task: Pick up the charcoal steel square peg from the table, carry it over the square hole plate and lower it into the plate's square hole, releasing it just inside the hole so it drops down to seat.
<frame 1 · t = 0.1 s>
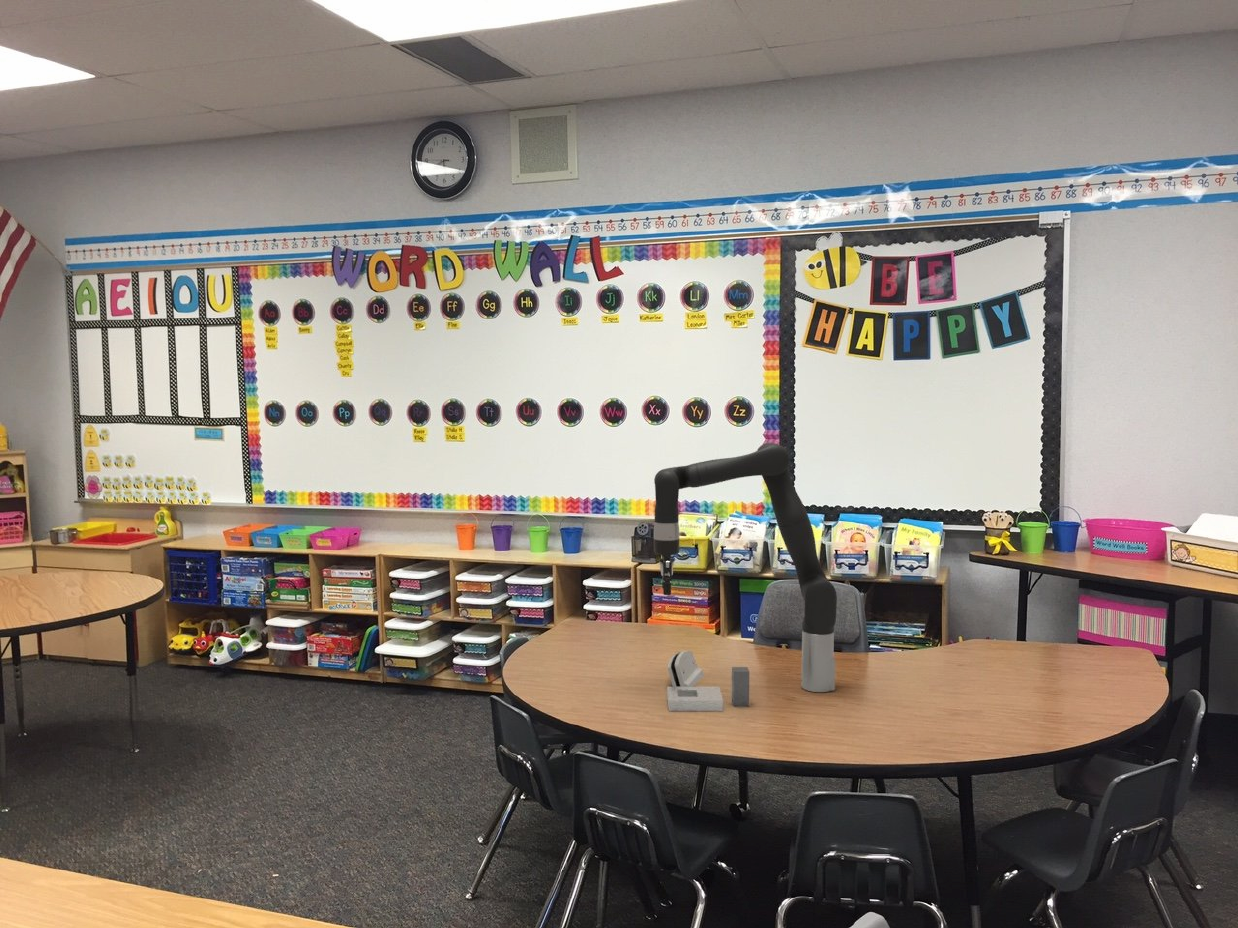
hand: (666, 591, 278), 29 cm above the table, tool pointing down, fingers open, 8 cm apart
square peg: (740, 703, 267), on the table
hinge: (684, 682, 287), on the table
square hole plate: (694, 703, 267), on the table
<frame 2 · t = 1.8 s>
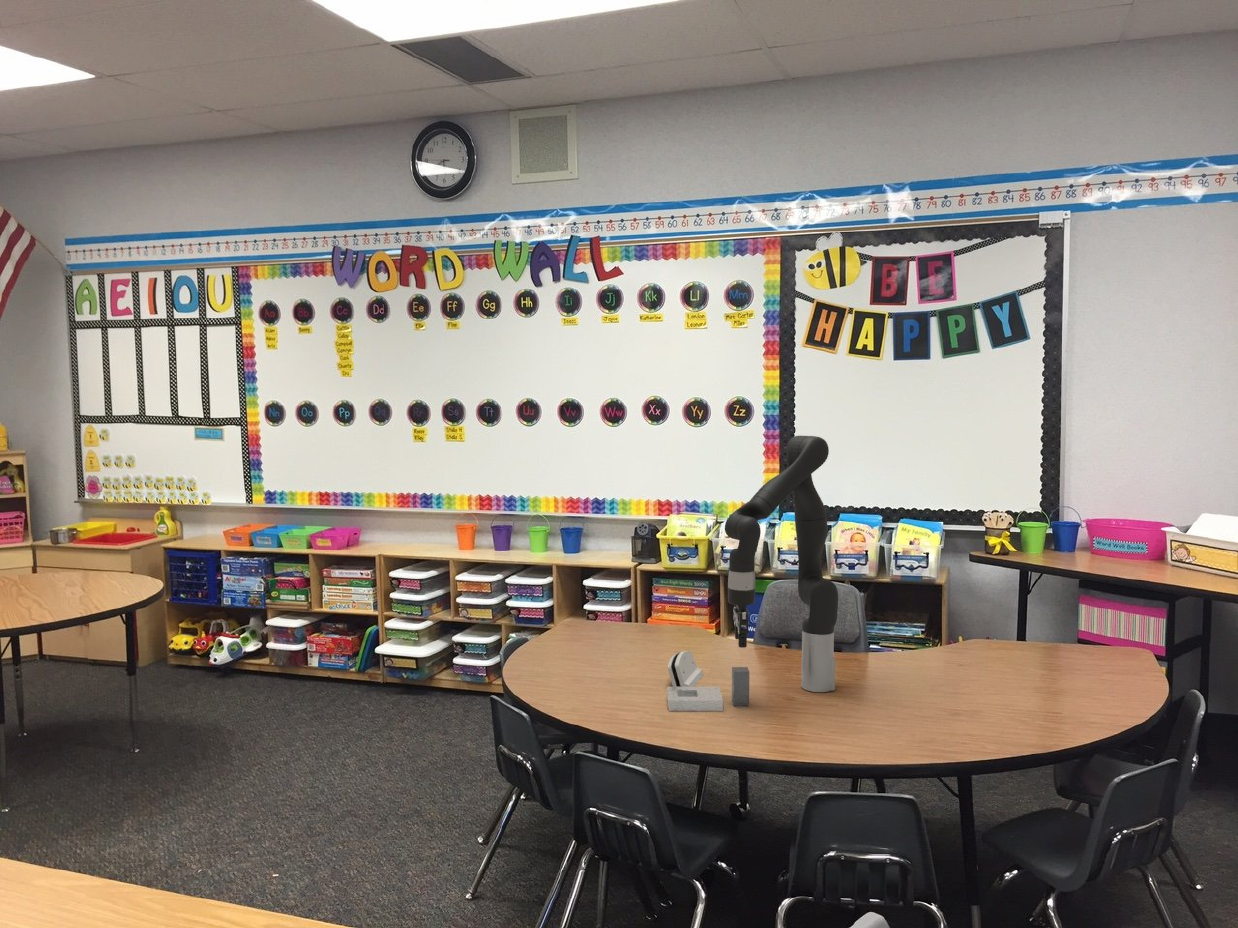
hand: (740, 642, 265), 18 cm above the table, tool pointing down, fingers open, 8 cm apart
nothing on the table moved.
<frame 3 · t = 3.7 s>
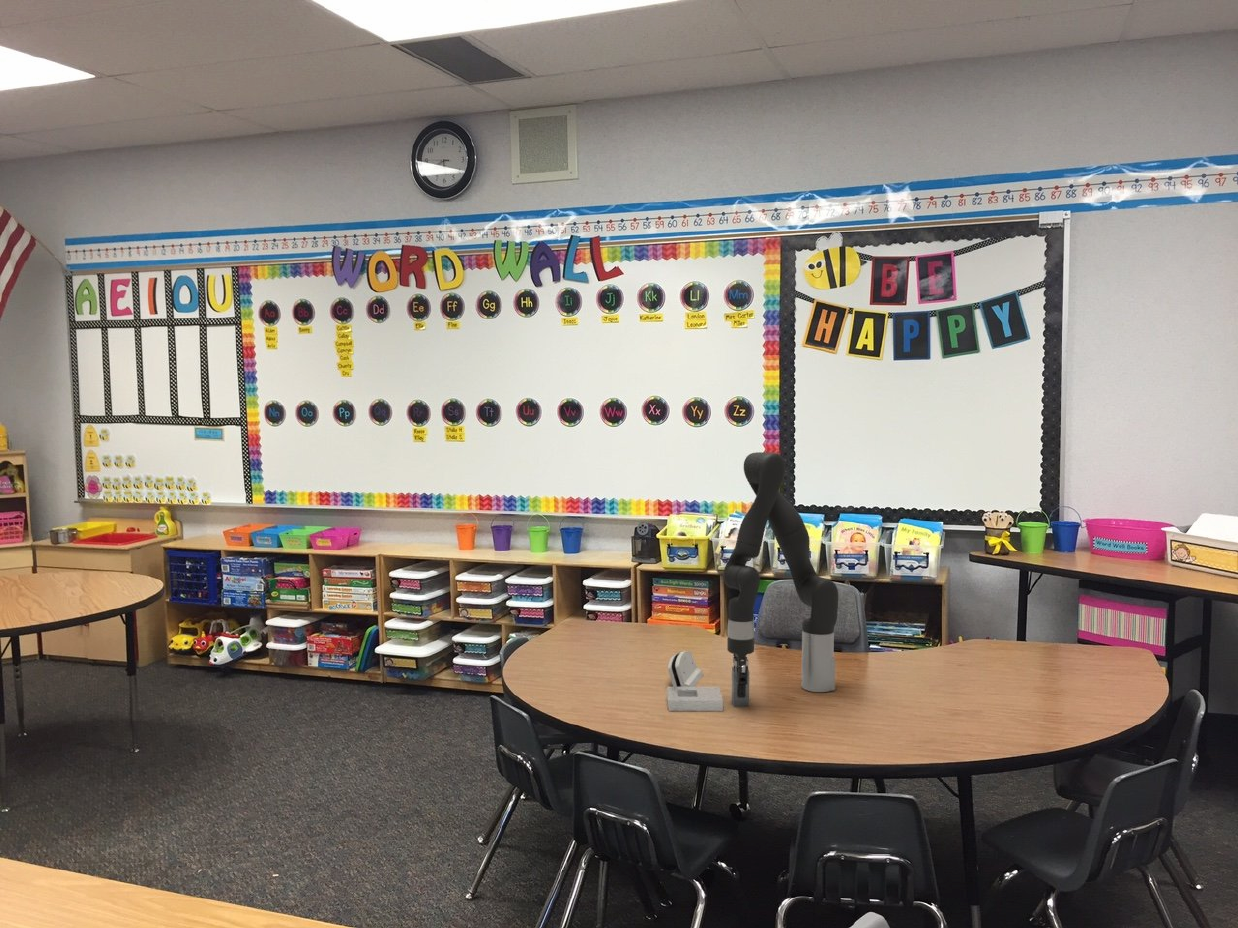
hand: (740, 693, 267), 3 cm above the table, tool pointing down, fingers closed on square peg, 4 cm apart
square peg: (740, 703, 267), on the table, touching gripper
everything else where it was.
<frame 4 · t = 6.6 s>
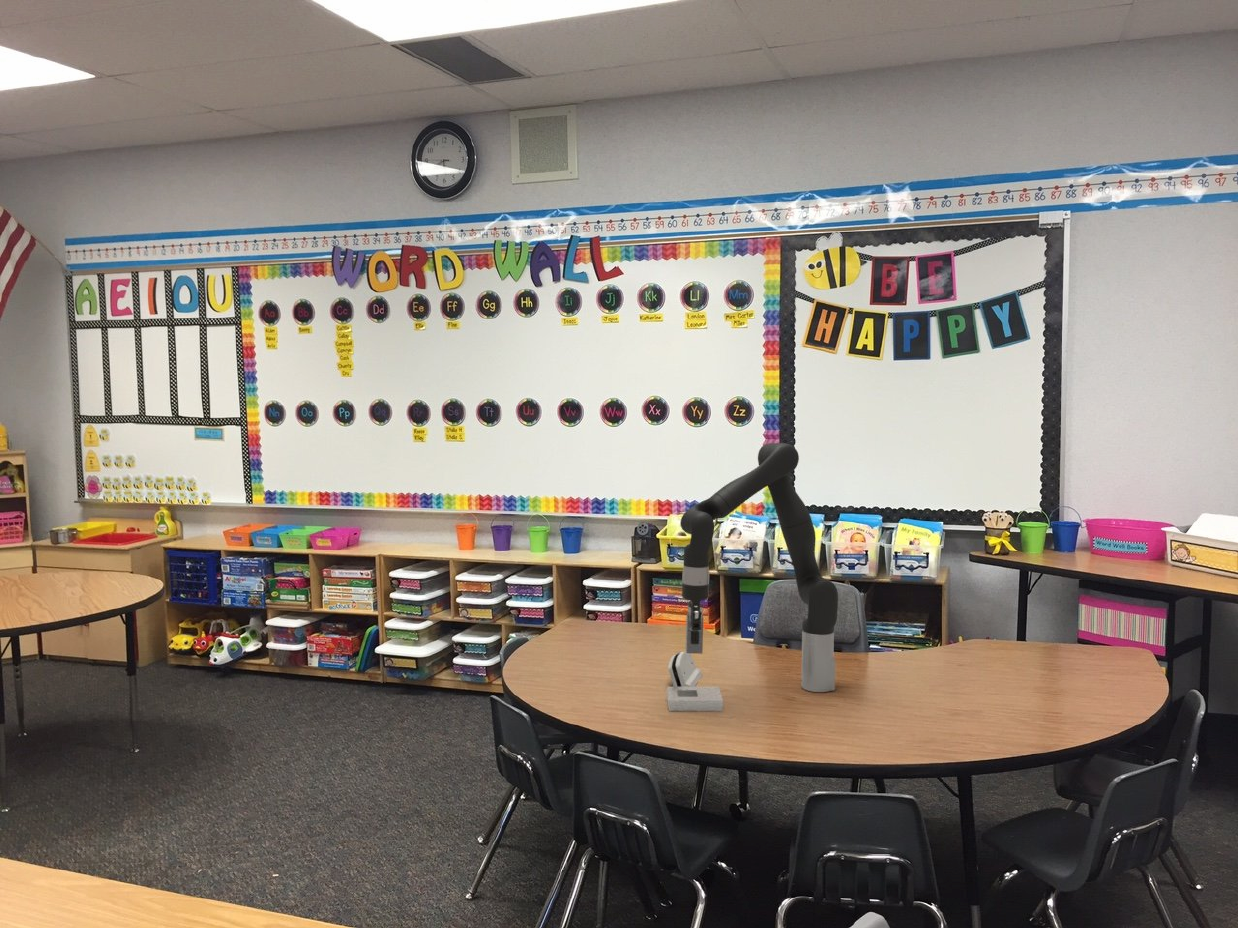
hand: (694, 641, 265), 18 cm above the table, tool pointing down, fingers closed on square peg, 4 cm apart
square peg: (693, 651, 265), point 15 cm above the table, touching gripper
everything else where it was.
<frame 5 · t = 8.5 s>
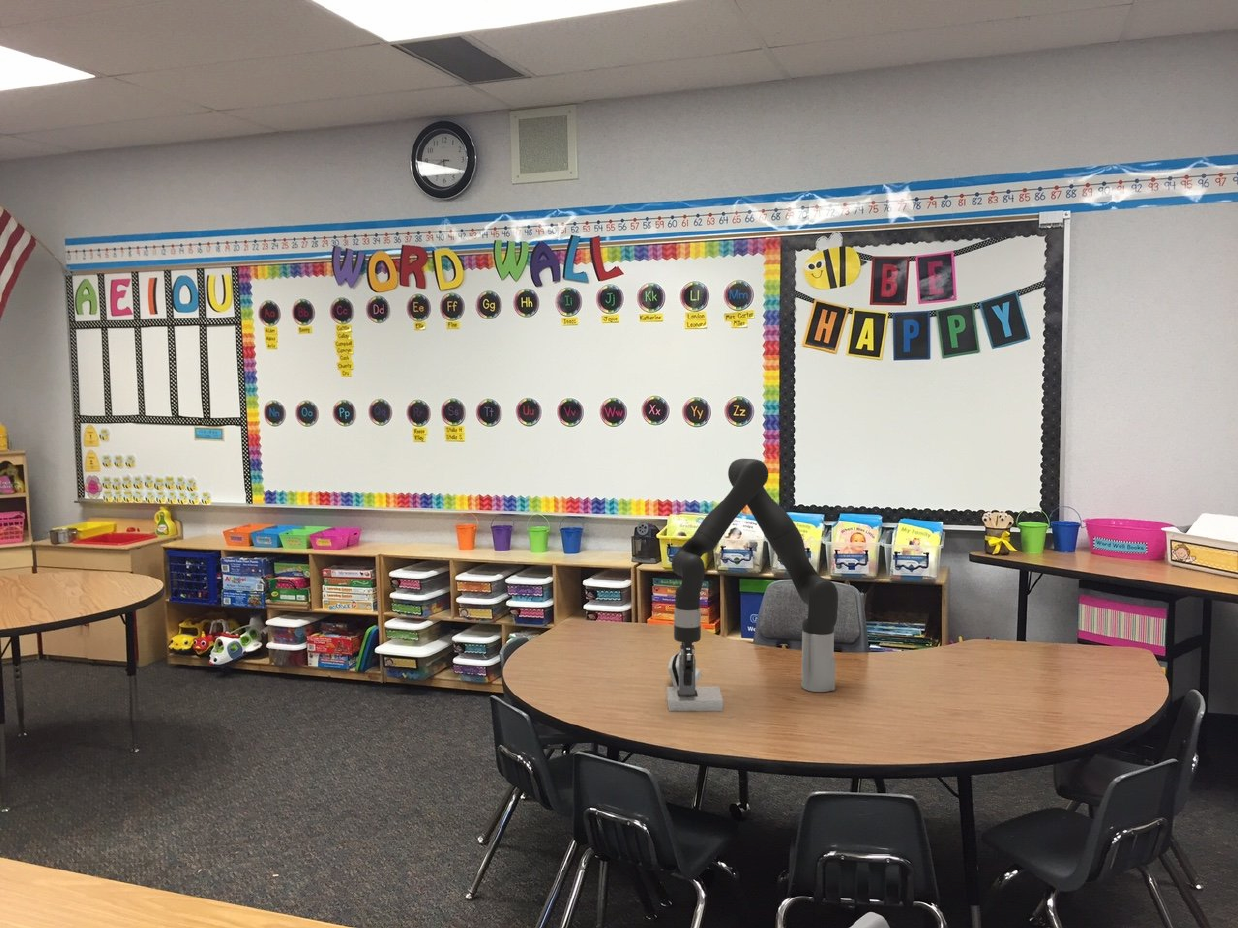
hand: (687, 682, 266), 6 cm above the table, tool pointing down, fingers closed on square peg, 4 cm apart
square peg: (686, 691, 267), point 3 cm above the table, touching gripper
everything else where it was.
when the fingers open (4 cm above the table, at t = 9.9 s): square peg drops 1 cm, resting in square hole plate.
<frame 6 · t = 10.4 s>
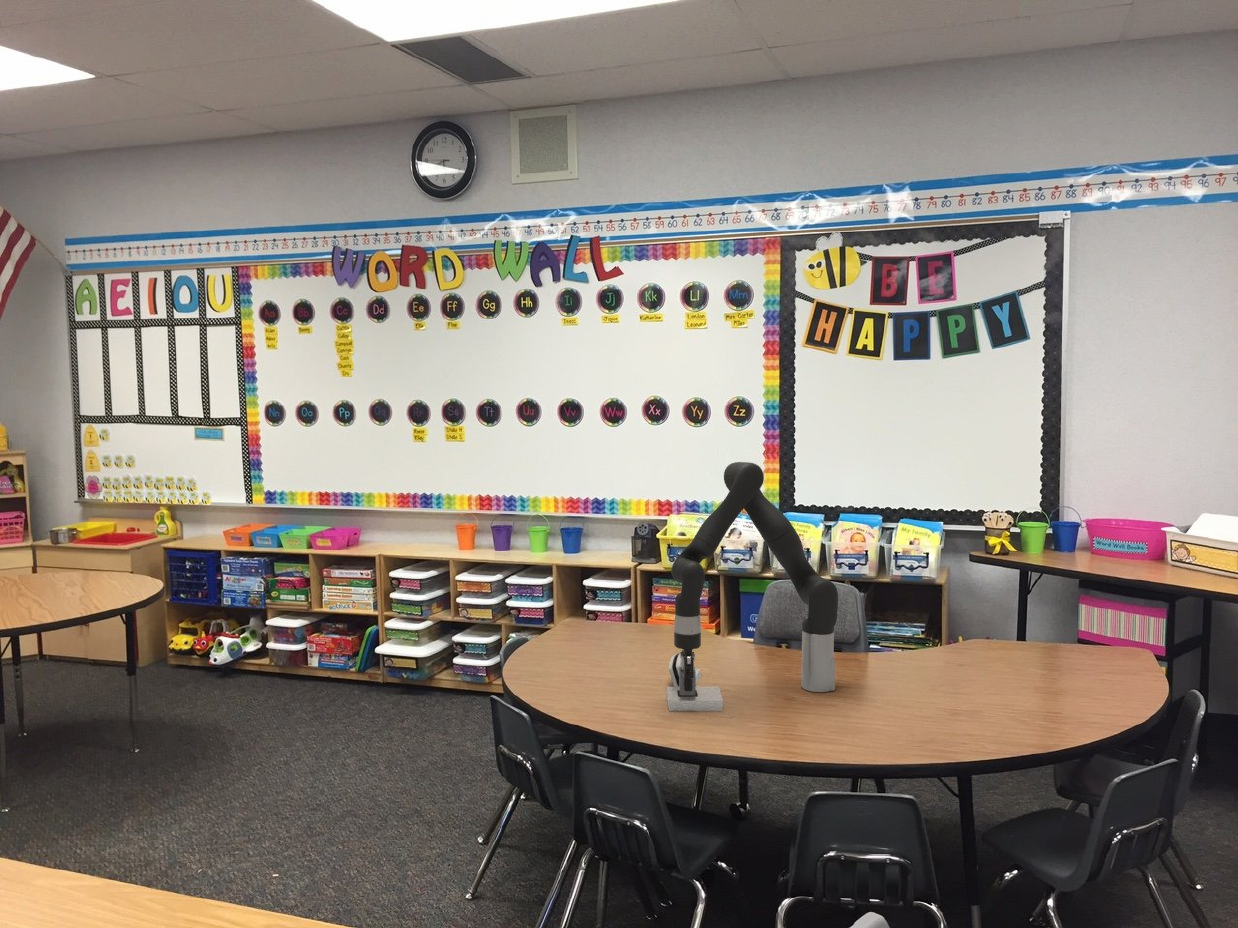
hand: (687, 686, 266), 5 cm above the table, tool pointing down, fingers open, 8 cm apart
square peg: (687, 703, 267), resting in square hole plate
everything else where it was.
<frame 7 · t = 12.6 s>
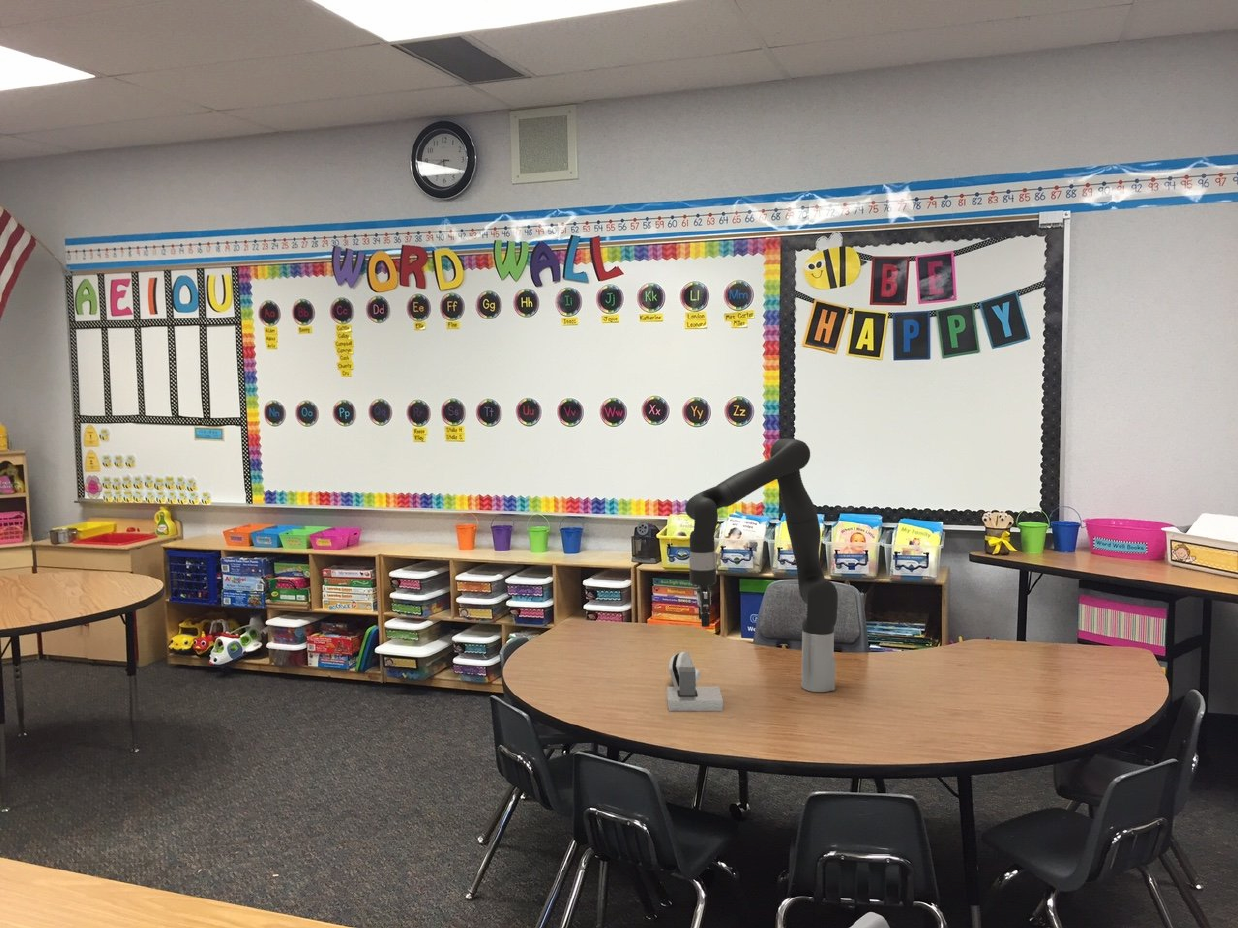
hand: (704, 622, 269), 22 cm above the table, tool pointing down, fingers open, 8 cm apart
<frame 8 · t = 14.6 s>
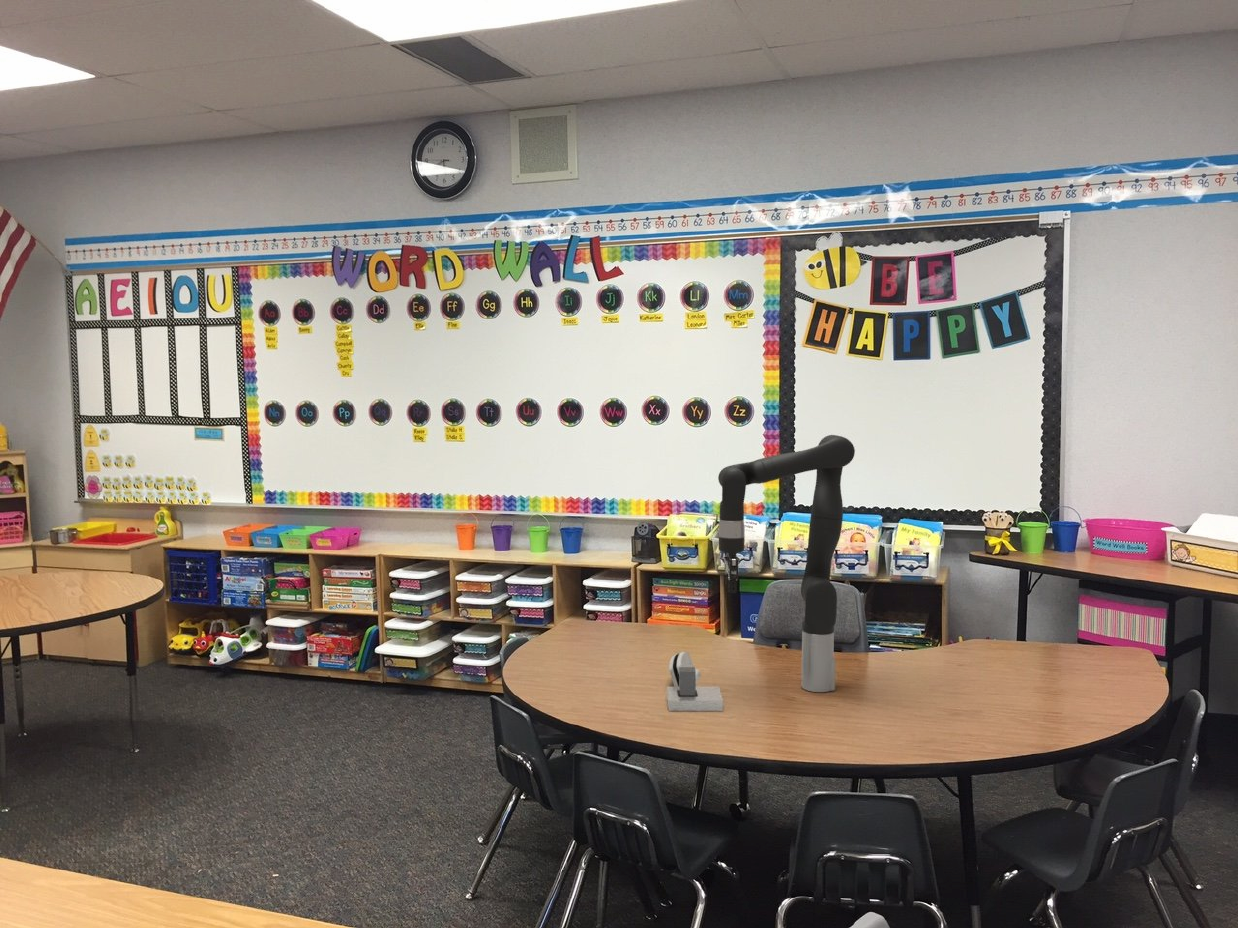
hand: (731, 589, 276), 30 cm above the table, tool pointing down, fingers open, 8 cm apart
at the end: square peg 0.1 cm from the target spot on the square hole plate, point 0.0 cm above the square hole plate's base; square peg tilted 0°; the gripper is holding nothing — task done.
